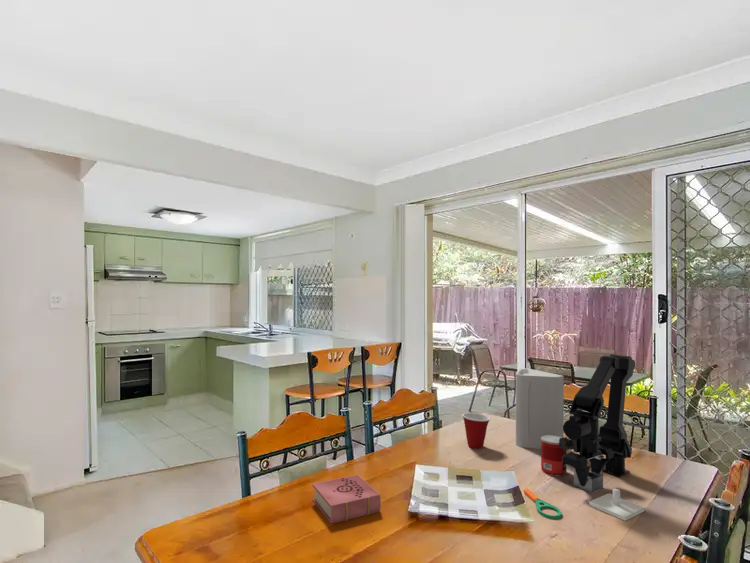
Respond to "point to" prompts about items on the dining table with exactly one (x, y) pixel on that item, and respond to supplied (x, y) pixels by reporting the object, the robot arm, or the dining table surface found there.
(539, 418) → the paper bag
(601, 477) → the square hole block
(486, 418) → the plastic cup
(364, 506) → the book
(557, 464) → the canned food
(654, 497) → the dining table surface
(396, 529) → the dining table surface
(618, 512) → the post block
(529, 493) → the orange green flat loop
